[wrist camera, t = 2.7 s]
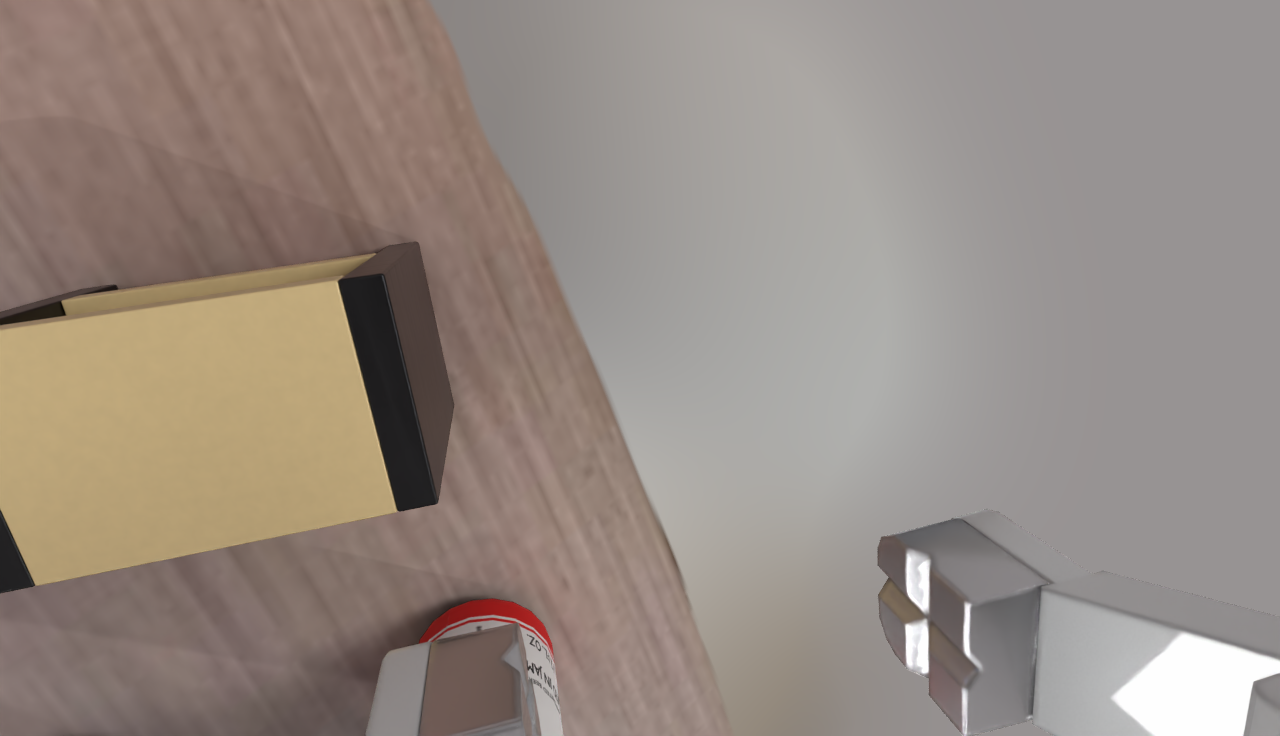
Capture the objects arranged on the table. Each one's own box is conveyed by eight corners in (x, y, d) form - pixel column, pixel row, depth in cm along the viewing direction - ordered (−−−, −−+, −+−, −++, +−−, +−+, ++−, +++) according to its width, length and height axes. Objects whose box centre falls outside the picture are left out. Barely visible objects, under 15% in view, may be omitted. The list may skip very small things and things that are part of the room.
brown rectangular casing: (80, 288, 25) (-137, 349, 16) (418, 241, 26) (383, 272, 18) (146, 462, 27) (-16, 597, 18) (454, 406, 29) (439, 504, 20)
